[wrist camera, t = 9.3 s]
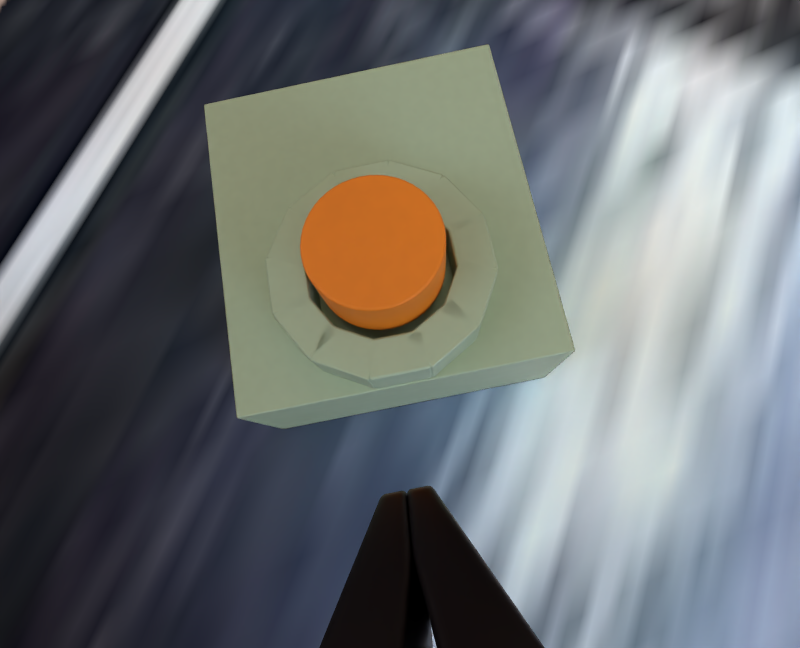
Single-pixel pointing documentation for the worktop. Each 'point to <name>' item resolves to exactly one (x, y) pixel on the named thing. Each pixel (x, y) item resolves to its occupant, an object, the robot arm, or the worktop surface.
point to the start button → (375, 251)
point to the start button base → (405, 159)
